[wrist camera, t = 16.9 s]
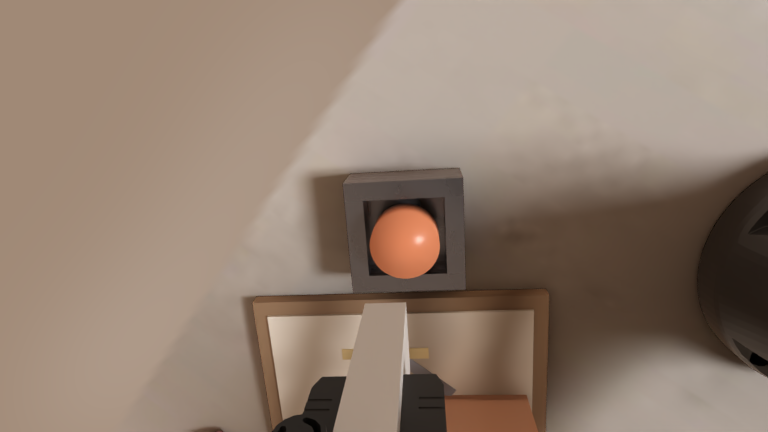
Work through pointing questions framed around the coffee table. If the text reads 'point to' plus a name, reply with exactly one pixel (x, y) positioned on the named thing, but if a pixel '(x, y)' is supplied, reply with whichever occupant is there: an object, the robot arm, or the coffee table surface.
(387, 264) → the button
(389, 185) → the button housing
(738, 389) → the coffee table surface
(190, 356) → the coffee table surface
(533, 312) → the board
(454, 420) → the pen cup
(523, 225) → the coffee table surface
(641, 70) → the coffee table surface
